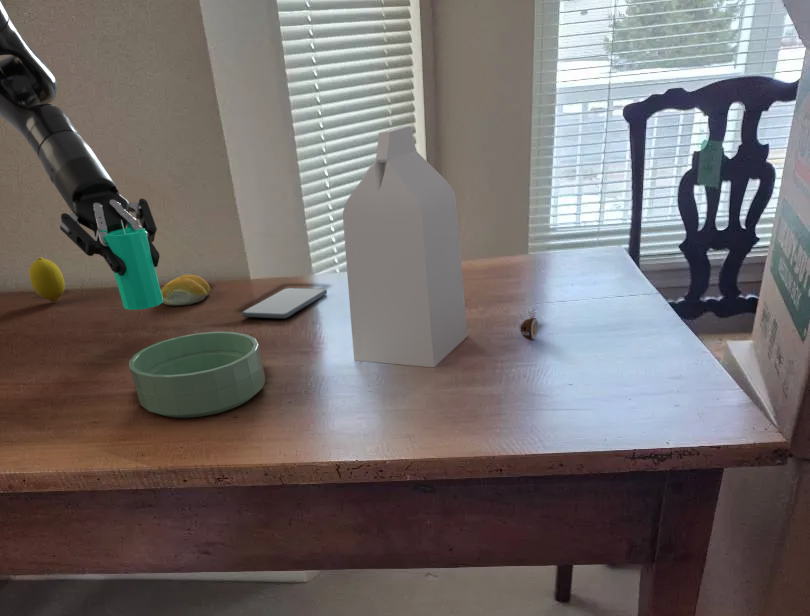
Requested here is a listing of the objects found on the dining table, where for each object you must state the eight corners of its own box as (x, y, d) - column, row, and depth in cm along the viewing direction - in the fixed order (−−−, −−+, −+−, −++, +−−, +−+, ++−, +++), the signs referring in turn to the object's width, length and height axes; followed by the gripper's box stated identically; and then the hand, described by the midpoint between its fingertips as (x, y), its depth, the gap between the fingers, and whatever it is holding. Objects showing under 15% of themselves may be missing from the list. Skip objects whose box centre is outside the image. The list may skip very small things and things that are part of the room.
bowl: (201, 431, 82) (189, 384, 79) (116, 408, 89) (102, 365, 86) (291, 382, 92) (283, 340, 89) (207, 366, 99) (198, 326, 96)
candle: (143, 311, 108) (120, 225, 102) (115, 308, 111) (90, 223, 104) (171, 300, 113) (151, 216, 106) (144, 297, 115) (122, 215, 109)
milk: (434, 367, 92) (419, 133, 78) (354, 360, 97) (326, 138, 82) (467, 336, 101) (460, 120, 86) (393, 330, 105) (374, 125, 91)
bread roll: (215, 290, 133) (210, 268, 130) (202, 305, 125) (197, 281, 123) (170, 294, 133) (165, 271, 131) (155, 308, 126) (149, 284, 123)
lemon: (45, 308, 132) (29, 262, 127) (34, 303, 135) (18, 258, 131) (75, 300, 135) (60, 255, 130) (64, 296, 138) (49, 252, 134)
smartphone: (328, 288, 124) (285, 314, 113) (329, 294, 125) (286, 320, 113) (285, 287, 127) (239, 312, 115) (286, 293, 127) (240, 318, 116)
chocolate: (526, 334, 100) (527, 304, 98) (541, 336, 99) (542, 306, 96) (516, 341, 98) (516, 311, 96) (531, 343, 97) (531, 313, 94)
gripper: (31, 161, 101) (97, 262, 101) (125, 148, 109) (187, 240, 109) (29, 201, 107) (92, 295, 107) (118, 185, 115) (177, 273, 115)
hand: (139, 267), depth 108 cm, fingers closed on candle, 4 cm apart
